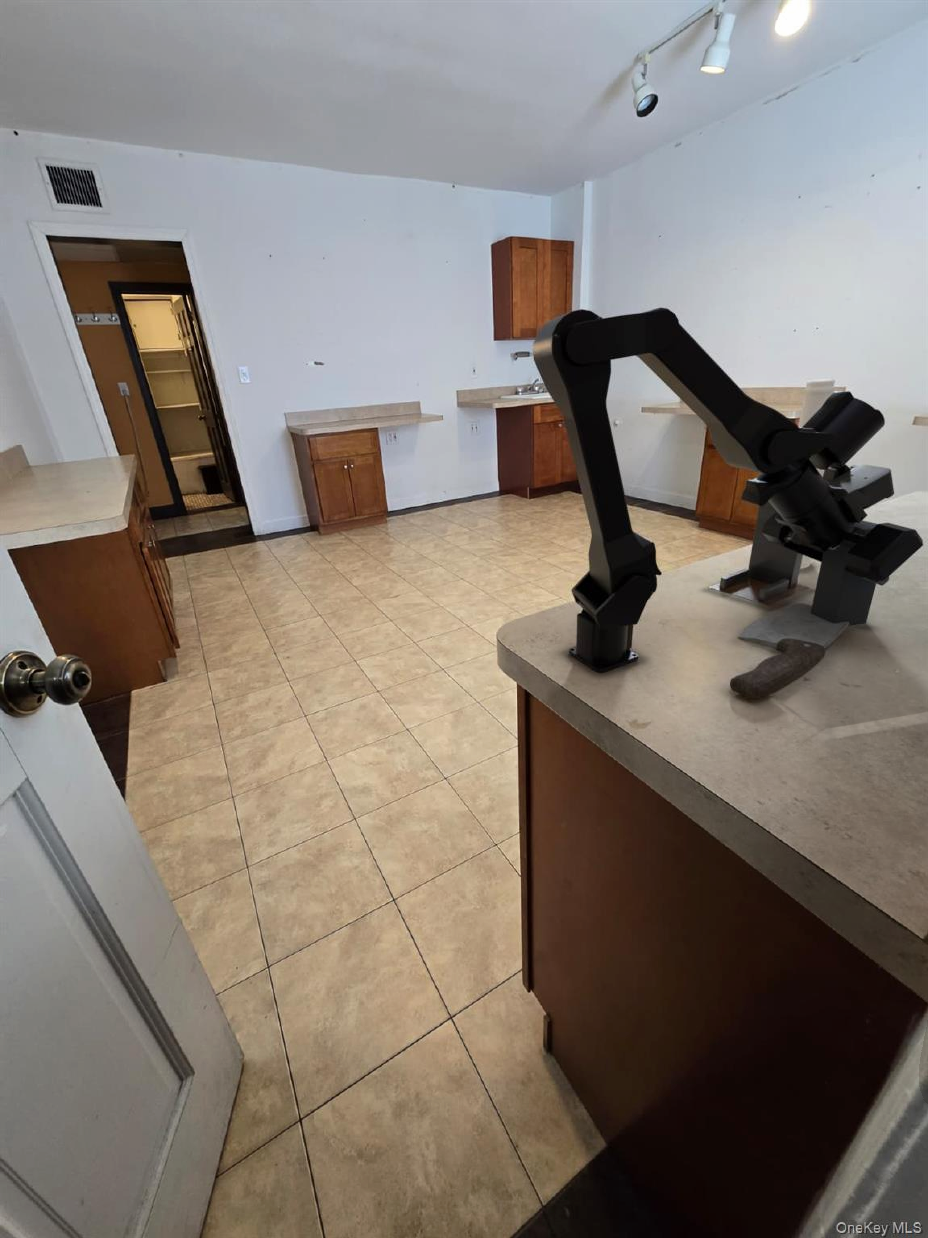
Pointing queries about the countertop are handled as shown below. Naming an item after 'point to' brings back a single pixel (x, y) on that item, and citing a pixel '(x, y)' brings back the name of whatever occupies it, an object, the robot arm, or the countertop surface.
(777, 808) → the countertop surface
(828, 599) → the back pad
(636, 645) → the countertop surface
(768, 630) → the cleaver
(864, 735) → the countertop surface
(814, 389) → the bottle
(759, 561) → the pad mount
